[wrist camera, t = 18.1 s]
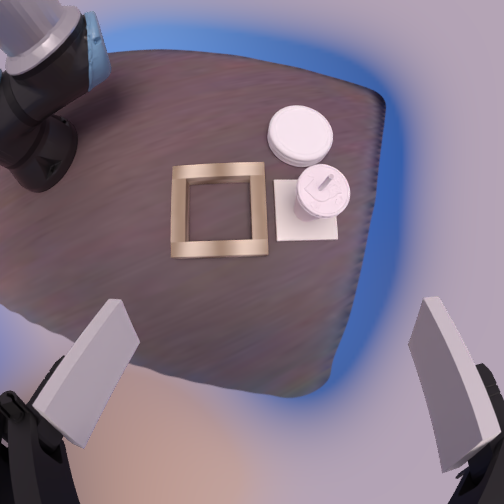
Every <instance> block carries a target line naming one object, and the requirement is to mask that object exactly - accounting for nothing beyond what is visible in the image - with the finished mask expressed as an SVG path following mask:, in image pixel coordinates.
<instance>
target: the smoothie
mask: <svg viewBox="0 0 504 504" xmlns="http://www.w3.org/2000/svg"><path fill="white" fill-rule="evenodd" d="M349 199H350V188H349V184H348V182H347V180H346V178H345V177H344V175H343V174H342V173H341V172H340V171H339V170H337V169H336V168H334V167H332V166H329V165H325V164H317V165H313V166H310V167H308V168H307V169H306V170H304V171H303V173H302V174H301V175H300V177H299V178H298V181H297V183H296V199H295V204H294V213H295V215H296V217H297V218H298V219H300V220H301V221H304V222H310V221H313V220H316V219H320V218H323V219H327V218H333V217H335V216H337V215H339V214H340V213H341V212H342V211H343V210H344V209H345V208H346V206H347V204H348V202H349Z"/></svg>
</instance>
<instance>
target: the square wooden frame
mask: <svg viewBox="0 0 504 504" xmlns="http://www.w3.org/2000/svg"><path fill="white" fill-rule="evenodd" d="M244 182H250V204H251V232H252V240H224V241H196V242H189V194H190V185H197V184H216V183H244ZM267 255H268V233H267V211H266V190H265V171H264V162H242V163H216V164H198V165H183V166H173V174H172V199H171V257H172V258H175V259H186V258H219V257H250V256H267Z"/></svg>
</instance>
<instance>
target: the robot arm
mask: <svg viewBox="0 0 504 504" xmlns="http://www.w3.org/2000/svg"><path fill="white" fill-rule="evenodd" d="M0 49H2V50H3V51H4V52H5V53H6V54H7V59H6V65H5V68H6V70H5V71H4V72H2V70H1V69H0V165H1V166H4V167H5V168H7V169H9V170H10V171H11V173H12V174H13V175H14V177H15V178H16V179H17V180H18V182H19V183H20V184H21V186H23V187H24V188H26V189H28V190H30V191H32V192H42V191H45V190H47V189H49V188H51V187H52V186H54V185H55V184H56V183H57V182H58V181H59V180H60V179H61V178H62V177H63V175H64V174H65V173H66V171H67V170H68V168H69V166H70V164H71V162H72V160H73V158H74V155H75V152H76V148H77V132H76V129H75V127H74V126H73V125H72V124H71V123H70V122H69V121H68V120H67V119H65V118H64V117H61V116H57V115H54V113H55V112H57V111H58V110H60V109H61V108H63V107H64V106H66V105H67V104H69V103H70V102H72V101H74V100H75V99H77V98H78V97H80V96H82V95H83V94H85V93H87V92H89V91H91V90H92V88H94V87H95V86H97V85H98V84H100V83H102V82H103V81H105V80H106V79H107V78H108V76H109V75H110V73H111V65H110V61H109V57H108V54H107V50H106V47H105V43H104V40H103V36H102V33H101V29H100V26H99V23H98V20H97V16H96V14H95V12H93V11H92V12H87V13H85V14H84V15H82V14H81V13H80V11H79V9H78V8H77V7H75V6H61V4H60V3H59V1H58V0H0ZM139 343H140V341H139V339H138V337H137V334H136V332H135V330H134V328H133V326H132V323H131V321H130V319H129V316H128V314H127V312H126V309H125V307H124V304H123V302H122V300H120V299H108V301H107V302H106V303H105V304H104V306H103V307H102V308H101V309H100V311H99V312H98V313H97V314H96V316H95V317H94V318H93V320H92V321H91V322H90V323H89V325H88V326H87V327H86V329H85V330H84V331H83V333H82V334H81V335H80V337H79V338H78V339H77V341H76V342H75V343H74V345H73V346H72V348H71V349H70V350H69V352H68V353H67V354H66V356H63V357H61V358H60V359H59V360H58V361H56V362H55V364H54V365H53V367H52V368H51V369H50V372H49V373H48V374H47V375H46V377H45V379H44V380H43V381H42V382H41V384H40V386H39V387H38V388H37V390H36V392H35V393H34V394H33V396H32V398H31V399H30V401H29V402H28V403H27V404H26V405H25V403H24V402H23V401H22V400H21V399H20V398H19V397H18V396H17V395H16V393H15V392H13V391H6V392H4V393H3V394H2V395H0V504H80V502H79V499H78V496H77V493H76V489H75V486H74V482H73V479H72V475H71V470H70V466H69V462H68V458H67V453H66V448H65V444H64V441H63V440H62V438H63V436H64V437H65V438H66V439H67V440H69V441H70V442H71V443H73V444H75V445H77V446H79V447H81V448H83V449H84V448H85V446H86V444H87V442H88V440H89V438H90V436H91V433H92V432H93V430H94V428H95V425H96V423H97V421H98V419H99V418H100V416H101V414H102V411H103V410H104V408H105V406H106V404H107V402H108V400H109V398H110V396H111V394H112V392H113V391H114V389H115V387H116V385H117V383H118V381H119V379H120V377H121V376H122V374H123V372H124V370H125V368H126V367H127V365H128V363H129V361H130V359H131V358H132V356H133V354H134V352H135V350H136V349H137V347H138V345H139ZM408 346H409V349H410V351H411V354H412V357H413V360H414V363H415V366H416V369H417V373H418V376H419V379H420V382H421V385H422V388H423V392H424V395H425V399H426V402H427V406H428V410H429V414H430V418H431V421H432V425H433V430H434V434H435V438H436V443H437V448H438V453H439V458H440V463H441V468H442V473H444V472H447V471H450V470H453V469H456V468H459V467H460V466H462V465H463V464H464V463H466V462H467V461H468V464H469V467H467V468H466V469H464V470H463V471H461V472H460V473H459V474H458V475H457V476H456V478H457V479H458V478H459V477H461V476H462V475H463V477H462V479H461V481H460V483H459V485H458V486H457V488H456V490H455V492H454V494H453V496H452V497H451V499H450V501H449V502H448V504H504V400H503V397H502V395H501V394H500V390H499V388H498V386H497V385H496V381H495V379H494V377H493V374H492V372H491V371H490V370H489V369H488V368H487V367H486V366H485V365H484V364H483V363H482V364H478V365H475V364H474V362H473V360H472V357H471V355H470V353H469V351H468V349H467V347H466V345H465V343H464V341H463V339H462V338H461V336H460V334H459V332H458V330H457V328H456V327H455V324H454V323H453V321H452V319H451V317H450V315H449V314H448V312H447V310H446V309H445V307H444V305H443V303H442V302H441V300H440V299H439V297H438V296H436V297H425V298H423V301H422V304H421V307H420V311H419V314H418V317H417V320H416V323H415V326H414V329H413V332H412V335H411V338H410V341H409V343H408ZM2 438H3V439H4V440H5V441H6V442H8V448H7V447H5V446H4V445H3V444H2V443H1V440H2Z"/></svg>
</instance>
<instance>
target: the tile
mask: <svg viewBox="0 0 504 504" xmlns="http://www.w3.org/2000/svg"><path fill="white" fill-rule="evenodd" d="M297 181H298V180H274V181H273V187H274V205H275V224H276V242H282V241H320V240H337V239H338V232H337V220H336V216H335V217H333V218H327V219H323V218H320V219H316V220H313V221H310V222H304V221H301V220H300V219H298V218H297V217H296V215H295V213H294V204H295V199H296V183H297Z"/></svg>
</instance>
